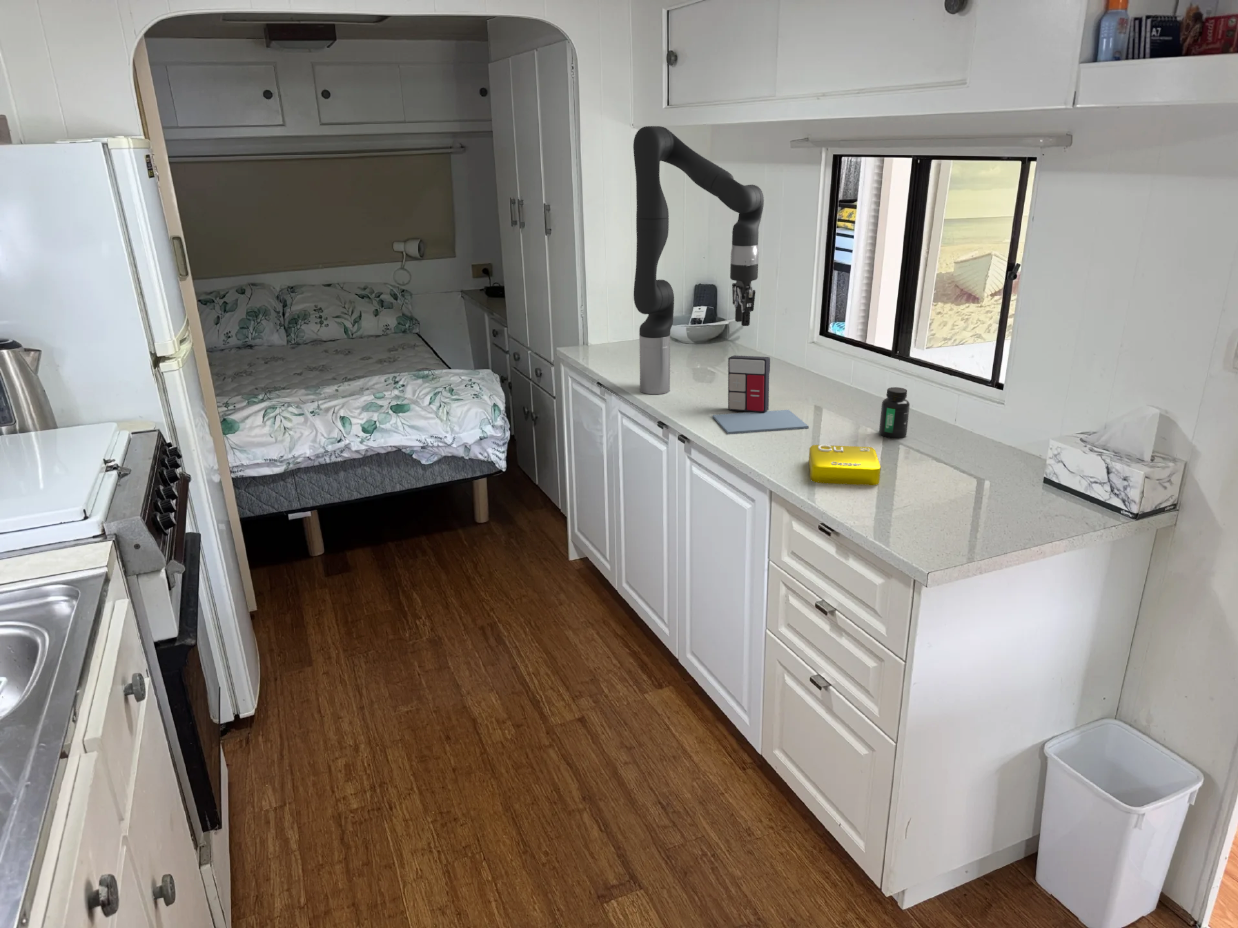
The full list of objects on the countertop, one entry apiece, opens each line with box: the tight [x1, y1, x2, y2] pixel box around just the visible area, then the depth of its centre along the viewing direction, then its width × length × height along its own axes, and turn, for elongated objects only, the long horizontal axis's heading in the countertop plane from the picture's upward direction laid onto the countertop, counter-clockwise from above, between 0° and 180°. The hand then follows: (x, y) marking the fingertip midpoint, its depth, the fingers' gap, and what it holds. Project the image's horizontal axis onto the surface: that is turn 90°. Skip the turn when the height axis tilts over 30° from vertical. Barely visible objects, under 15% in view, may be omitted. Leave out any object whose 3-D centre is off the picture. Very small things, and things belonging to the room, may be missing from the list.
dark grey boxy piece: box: [727, 355, 771, 413], centre depth 239 cm, size 11×4×15 cm, turn 62°
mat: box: [711, 409, 810, 435], centre depth 231 cm, size 15×22×1 cm
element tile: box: [808, 444, 882, 486], centre depth 196 cm, size 15×15×5 cm
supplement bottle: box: [878, 386, 911, 440], centre depth 218 cm, size 7×7×12 cm
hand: (742, 323), depth 240 cm, fingers open, 5 cm apart
